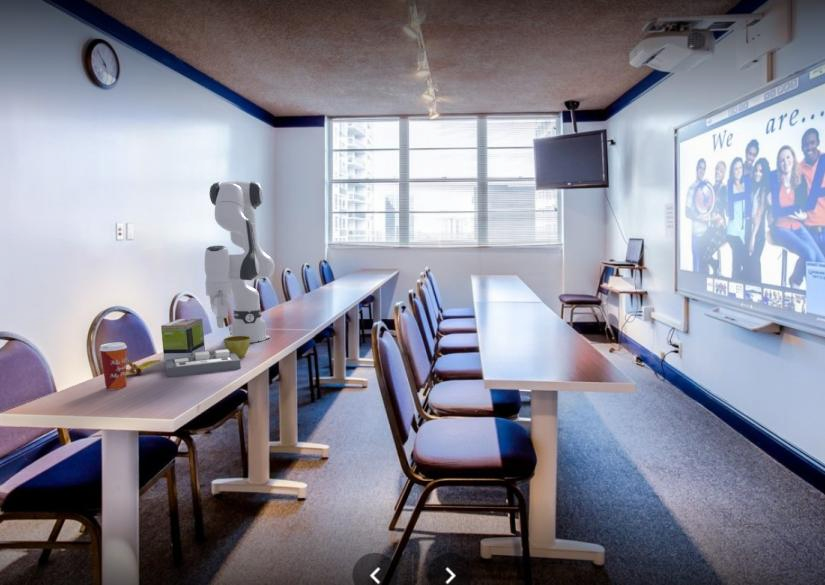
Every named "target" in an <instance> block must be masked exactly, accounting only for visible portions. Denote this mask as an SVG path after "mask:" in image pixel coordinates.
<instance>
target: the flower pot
mask: <svg viewBox="0 0 825 585" xmlns="http://www.w3.org/2000/svg"><path fill="white" fill-rule="evenodd" d="M223 344H224V346H225V347H224V348H225V349H228V350H229V352H230V353H234V352H235V353H236V355H237V356H238V358H242V357H241V356H243V357H245V356H244V355H246V354H247V352H248V351H249V348H250V337H248V336H234V337H229V336H228V337H224V338H223Z"/></svg>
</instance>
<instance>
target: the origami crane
mask: <svg viewBox="0 0 825 585" xmlns="http://www.w3.org/2000/svg"><path fill="white" fill-rule="evenodd" d="M160 361H161V359H155V360H150V361H149V360H148V361H146V362H143V363H141V364H140V365H139V364H136V363H133V362H132V361H130V360H129V358H128V357H126V364H127V365H129V367H130V368H129V369H127V368H126V375H130V374H136V376H140V375H141V373H142V371H145V370H146V369H147V368H150V367H151V366H153V365H155V364H157V363H160Z"/></svg>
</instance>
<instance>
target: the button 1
mask: <svg viewBox="0 0 825 585" xmlns="http://www.w3.org/2000/svg"><path fill="white" fill-rule="evenodd" d="M174 362H175V363H181V362H189V359H188V358H182V359H174Z"/></svg>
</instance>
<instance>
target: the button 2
mask: <svg viewBox="0 0 825 585" xmlns="http://www.w3.org/2000/svg"><path fill="white" fill-rule="evenodd" d="M214 355H215V358H216V359H217V358H226V357H230V352H229V350H228V349H226V348H225V349H217V350H214Z"/></svg>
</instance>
